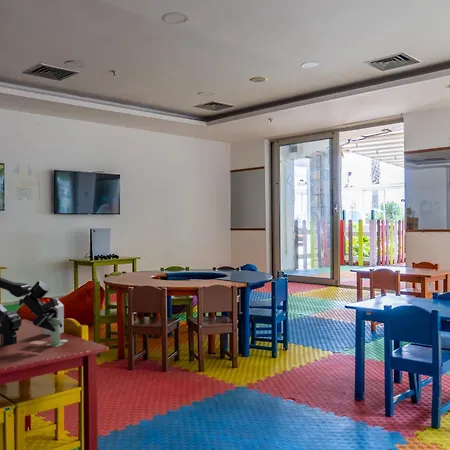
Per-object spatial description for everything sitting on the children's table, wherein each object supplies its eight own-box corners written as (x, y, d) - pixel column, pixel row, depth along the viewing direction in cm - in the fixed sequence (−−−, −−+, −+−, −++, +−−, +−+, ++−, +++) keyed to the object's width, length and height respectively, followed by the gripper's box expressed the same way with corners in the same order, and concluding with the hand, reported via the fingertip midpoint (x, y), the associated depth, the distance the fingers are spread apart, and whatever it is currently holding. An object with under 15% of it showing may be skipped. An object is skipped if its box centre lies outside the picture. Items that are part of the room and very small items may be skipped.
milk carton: (43, 336, 250) (43, 299, 250) (51, 333, 257) (51, 297, 257) (56, 337, 248) (56, 299, 248) (63, 334, 255) (64, 297, 255)
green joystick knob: (48, 345, 228) (48, 319, 227) (54, 342, 232) (54, 317, 232) (56, 345, 226) (56, 320, 226) (62, 343, 230) (62, 318, 230)
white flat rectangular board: (25, 346, 230) (25, 343, 230) (45, 339, 243) (45, 337, 243) (56, 349, 224) (56, 347, 224) (75, 342, 237) (75, 340, 237)
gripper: (39, 296, 220) (64, 320, 220) (54, 290, 238) (76, 313, 238) (22, 313, 219) (46, 338, 220) (37, 306, 238) (60, 329, 238)
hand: (58, 329), depth 229 cm, fingers open, 9 cm apart
